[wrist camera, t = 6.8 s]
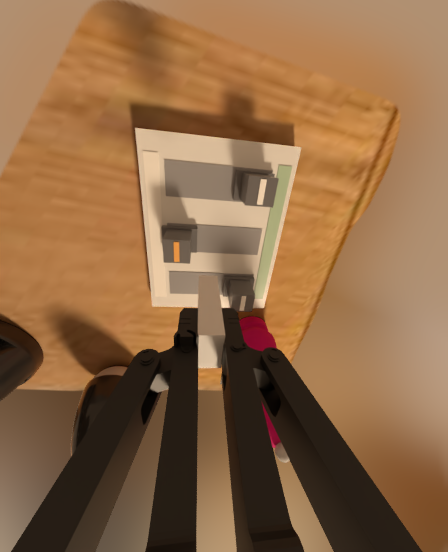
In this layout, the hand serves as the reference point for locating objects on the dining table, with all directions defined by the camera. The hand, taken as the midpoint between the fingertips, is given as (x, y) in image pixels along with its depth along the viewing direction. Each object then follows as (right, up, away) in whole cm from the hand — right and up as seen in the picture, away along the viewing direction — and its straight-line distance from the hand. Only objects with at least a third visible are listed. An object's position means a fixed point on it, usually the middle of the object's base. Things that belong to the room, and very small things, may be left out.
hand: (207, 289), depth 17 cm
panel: (0, +7, +12) cm, 14 cm away
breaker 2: (+5, +12, +7) cm, 15 cm away
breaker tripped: (-4, +6, +10) cm, 12 cm away
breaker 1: (+4, 0, +14) cm, 15 cm away
